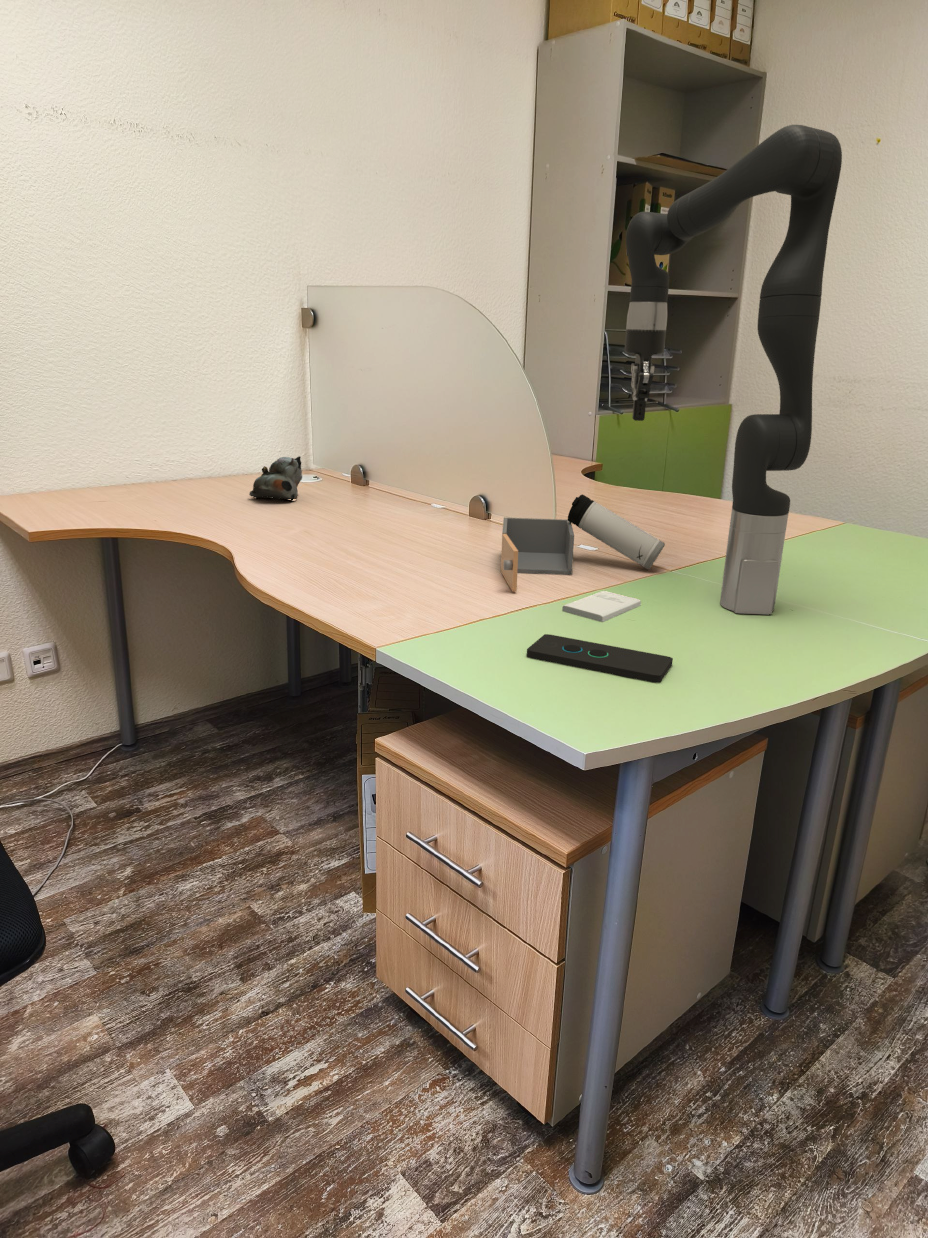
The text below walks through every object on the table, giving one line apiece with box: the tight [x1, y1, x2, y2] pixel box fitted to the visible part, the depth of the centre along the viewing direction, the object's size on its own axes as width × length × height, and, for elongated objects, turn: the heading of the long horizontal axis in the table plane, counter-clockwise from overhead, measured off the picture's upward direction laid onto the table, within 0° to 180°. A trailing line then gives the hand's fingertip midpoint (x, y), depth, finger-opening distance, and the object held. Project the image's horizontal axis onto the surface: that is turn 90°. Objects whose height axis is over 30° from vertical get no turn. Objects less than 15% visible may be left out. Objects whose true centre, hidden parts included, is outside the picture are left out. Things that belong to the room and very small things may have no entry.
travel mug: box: [567, 494, 666, 570], centre depth 170 cm, size 6×7×20 cm
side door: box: [500, 533, 518, 592], centre depth 157 cm, size 2×13×8 cm, turn 6°
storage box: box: [501, 517, 575, 576], centre depth 170 cm, size 14×14×8 cm
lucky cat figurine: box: [248, 456, 303, 500], centre depth 228 cm, size 15×12×14 cm
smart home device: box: [526, 633, 674, 684], centre depth 122 cm, size 8×2×20 cm
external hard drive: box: [561, 590, 642, 623], centre depth 145 cm, size 2×8×12 cm
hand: (638, 419), depth 165 cm, fingers closed
